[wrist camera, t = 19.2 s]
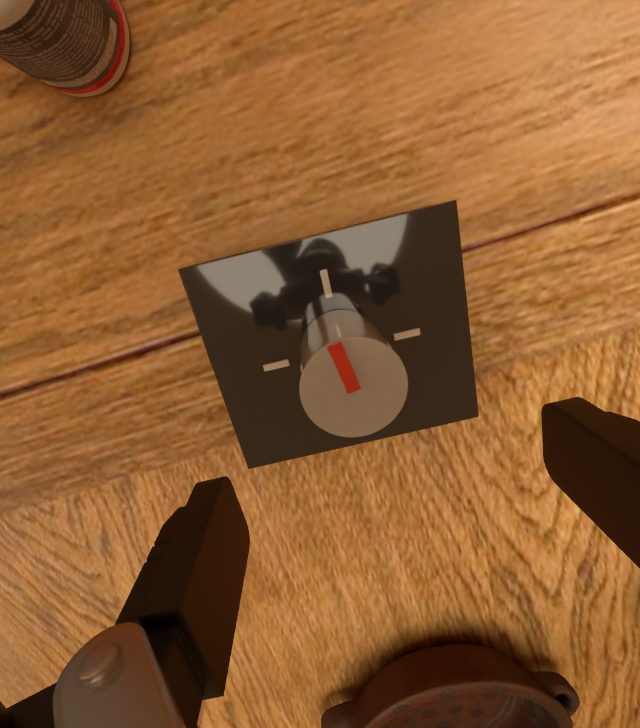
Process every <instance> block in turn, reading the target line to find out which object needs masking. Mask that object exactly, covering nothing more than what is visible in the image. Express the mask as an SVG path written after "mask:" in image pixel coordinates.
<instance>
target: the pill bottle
mask: <svg viewBox="0 0 640 728" xmlns="http://www.w3.org/2000/svg"><path fill="white" fill-rule="evenodd" d="M129 46H130V36H129V28H128V24H127V20H126V17H125V14H124V11H123V8H122V6H121V4H120V2H119V0H0V58H1V59H3V60H5V61H6V62H8V63H9V64H11V65H12V66H14V67H16V68H18V69H20V70H22V71H23V72H25V73H26V74H28V75H30V76H32V77H34V78H35V79H37V80H39V81H41V82H43V83H44V84H46V85H48V86H50V87H51V88H53V89H55V90H57V91H59V92H62V93H64V94H67V95H71V96H75V97H89V96H94V95H99V94H101V93H103V92H105V91H107V90H109V89H110V88H111V87H112V86H113V85H114V84H115V83H116V82H117V81H118V80H119V79H120V77H121V75H122V74H123V72H124V70H125V67H126V64H127V61H128V56H129Z"/></svg>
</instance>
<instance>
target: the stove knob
mask: <svg viewBox="0 0 640 728" xmlns="http://www.w3.org/2000/svg"><path fill="white" fill-rule="evenodd" d="M407 392H408V377H407V372H406V369H405V366H404V364H403V362H402V360H401V359H400V357H399V356H398V355H397V353H396V352H395V351H394V349H393V348H392V347H391V346H390V344H389V343H388V342H387V340H386V339H385V338H384V337H383V335H382V334H381V333H380V331H379V330H378V329H377V328H376V326H375V325H374V324H373V323H372V322H371V321H370V320H369V319H368V318H367V317H365V316H364V315H362V314H360V313H358V312H355V311H352V310H343V309H341V310H333V311H329V312H327V313H324V314H322V315H320V316H319V317H317V318H316V319H315V320H314V321H313V322H312V323H311V324H310V325H309V326H308V327H307V329H306V331H305V333H304V335H303V337H302V340H301V346H300V380H299V393H300V399H301V403H302V406H303V408H304V410H305V412H306V414H307V415H308V417H309V418H310V419H311V420H312V421H313V422H314V423H315V424H316V425H317V426H318V427H320V428H321V429H323V430H325V431H326V432H328V433H331V434H333V435H337V436H342V437H361V436H366V435H369V434H372V433H375V432H377V431H379V430H381V429H382V428H384V427H385V426H387V425H388V424H389V423H391V422H392V421H393V420H394V418H395V417H396V416H397V415H398V414H399V412H400V410H401V409H402V407H403V405H404V403H405V400H406V397H407Z"/></svg>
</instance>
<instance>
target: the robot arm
mask: <svg viewBox="0 0 640 728" xmlns="http://www.w3.org/2000/svg"><path fill="white" fill-rule="evenodd" d="M542 437H543V457H544V463H545V466H546V469H547V471H548V473H549V475H550V477H551V478H552V480H553V481H554V482H555V484H556V485H557V486H558V487H559V488H560V489H561V490H562V491H563V492H564V493H565V494H566V495H567V496H568V497H569V498H570V499H571V500H572V501H573V502H574V503H575V504H576V505H577V506H578V507H579V508H580V509H581V510H582V511H583V512H584V513H585V514H586V515H587V516H588V517H589V518H590V519H591V520H592V521H593V522H594V523H595V524H596V525H597V526H598V527H599V528H600V529H601V530H602V531H603V532H604V533H605V534H606V535H607V536H608V537H609V538H610V539H611V540H612V541H613V542H614V543H615V544H616V545H617V546H618V547H619V548H620V549H621V550H622V551H623V552H624V553H625V554H626V555H627V556H628V557H629V558H630V559H631V560H632V561H633V562H634V563H635V564H636V565H637V566H638V567H639V568H640V422H639V421H637V420H635V419H632V418H629V417H625V416H622V415H619V414H616V413H612V412H605V411H603V410H601V409H600V408H598V407H596V406H595V405H593V404H591V403H590V402H588V401H586V400H585V399H583V398H580V397H574V398H570V399H566V400H561V401H557V402H553V403H548V404H545V405H544V406H543V408H542ZM154 544H155V546H154V547H152V549H151V551H150V553H149V555H148V557H147V562H146V563H144V566H143V568H142V570H141V572H140V574H139V576H138V578H137V580H136V582H135V584H134V586H133V588H132V590H131V592H130V594H129V596H128V599H127V601H126V603H125V605H124V607H123V609H122V611H121V613H120V615H119V617H118V619H117V621H116V623H115V625H114V626H112V627H109V628H107V629H106V630H104V631H102V632H100V633H99V634H97V635H96V636H95V637H93V638H92V639H91V640H89V641H88V642H87V643H86V644H85V645H84V646H83V647H82V648H81V649H80V650H79V651H78V652H77V653H76V654H75V655H74V656H73V657H72V659H71V660H70V661H69V663H68V664H67V665H66V667H65V669H64V670H63V672H62V673H61V675H60V677H59V679H58V681H57V683H55V684H53V685H51V686H49V687H47V688H45V689H43V690H41V691H39V692H38V693H36V694H34V695H32V696H30V697H28V698H26V699H24V700H22V701H20V702H18V703H16V704H14V705H13V706H11V707H9V708H7V709H6V707H5V706H4V705H3V704H2V703H1V701H0V728H200V727H199V726H198V724H197V722H198V718H199V713H200V709H201V704H202V700H206V699H211V698H216V697H220V696H224V690H225V684H226V679H227V673H228V667H229V662H230V656H231V650H232V645H233V639H234V633H235V627H236V622H237V616H238V610H239V605H240V599H241V593H242V588H243V582H244V576H245V571H246V565H247V559H248V554H249V547H250V538H249V530H248V526H247V522H246V520H245V517H244V514H243V512H242V509H241V506H240V504H239V501H238V499H237V496H236V493H235V491H234V488H233V486H232V483H231V481H230V479H229V478H228V477H226V476H225V477H220V478H216V479H212V480H207V481H203V482H199V483H196V485H195V486H194V488H193V491H192V493H191V495H190V497H189V500H188V502H187V504H186V506H184V507H180V508H178V509H177V510H176V511H175V512H174V513H173V515H172V516H171V517H170V518H169V519H168V520H167V521H166V522H165V523H164V525H163V526H162V528H161V530H160V533H159V535H158V537H157V539H156V541H155V543H154Z"/></svg>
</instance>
